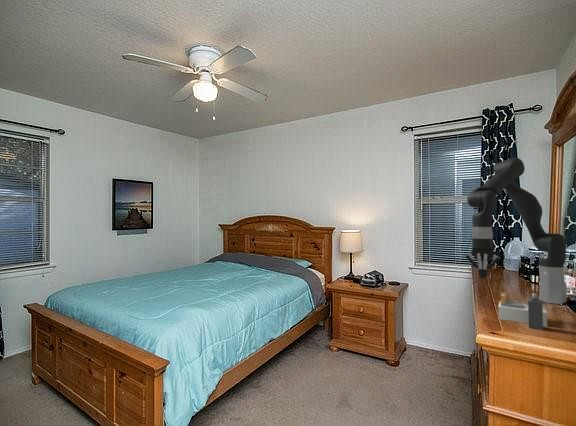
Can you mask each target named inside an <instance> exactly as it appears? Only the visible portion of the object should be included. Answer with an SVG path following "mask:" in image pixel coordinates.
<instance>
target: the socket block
mask: <svg viewBox="0 0 576 426" xmlns="http://www.w3.org/2000/svg"><path fill="white" fill-rule="evenodd" d="M522 305H523V308H515V307H508V306H501V300H499V302H498V320H504V321H508V322H515V323H523V324H528V325H529V314H528V304H525V303H522ZM542 309H543V327H548V312H547V308H546V306H542Z"/></svg>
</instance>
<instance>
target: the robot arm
mask: <svg viewBox="0 0 576 426" xmlns="http://www.w3.org/2000/svg"><path fill="white" fill-rule="evenodd" d="M525 169H526V168H525V163H524V162H523V160H522V159H520V158H519V157H513V158H508V159H506V160H505V159H504V160H502V161H499V162H496V163H495V164H494V165H493V174H494V176H492V177H490V178H489V179H487V180H486V182H485V183H484V184H483V185H482V186H479V187H477V188H475V189H474V190H472V191H471V192H470V193H468V195H467V197H466V199H467V200H466V202H467V205H468V206H469V207H471V208H475V209H476V208H483V209H482V211H480V212H477V213H476V212H475V213H474V214H472V230H471V242H472V243H471V247H472V248H471V251H470V253H469V254H466V255H465V258H466V259H467V261H469V263H470V264H471V266H472V267H474V268H476V269H478V277H479V278H480V279H486V278H487V276H488V270H489V269H490V270H491V269H492V268H493V267H494V266H495V265H496V264H497V263H498V262H499V261H500V260H501V257H500V256H498V255H496V253H495V251H494V233H493V221H492V220H493V219H492V218H493V213H494V209H495V206H496V203H497V196H498V195H499V194H500V192H501V191H502V190H503V189H504V190H505V192H506V194H507V195H508V196H509V198H510V199H511V201H512V203H513V206H514V207H515V209H516V211H517V212H518V215H519V216H520V218H521V219H522V221H523V223H524V225H525V227H526V229H527V231H528V233H529V236H530V238H531V240H532V243H533V245H534V247H535V248H536V249H537V250H538V251H540V252H543V253H544V252H545V253H548V255H547V257H545V258H542V259H539V261H538V266H539V267H538V270H539V300H542V303H543V302H544V303H547V304H548V303H549V304H554V305H555V304H556V305H563V303H565V301H566V300H567V301H568V299H567V298H568V296H567V294H568V293H567V283H566V282H565V264H566V263H565V262H566V259H567V258H566V256H567V241H566V239H565V236H564V235H563V234H561V233H550V232H548V233H547V232H545V230H544V228H543V225H542V223H541V220H542V216H543V208H542V205H541V204H540V202H539V200H538V198H537V197H536V196H535V195H534V194H533V193H531V192H530V191H528V190H526V189H524V188H522V187H520V186H518V184H516V183H515V180H516V179H518V178H519V177H521V176H522V175H523V174H524V172H525ZM473 258H474V259H475V260H476V261H477V263H476V261H475V260H474V259H473ZM491 259H492V260H493V261H492V262H491V263H490V264H488V262H489V261H491ZM565 304H566V303H565Z"/></svg>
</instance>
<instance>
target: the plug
mask: <svg viewBox="0 0 576 426" xmlns="http://www.w3.org/2000/svg"><path fill="white" fill-rule="evenodd" d="M527 302H528V303H527V305H528V314H529V324H528V328H529V329H531V330H539V331H544V326H543V309H542V307H543V301H542V300H540V299H539V294H538V293H536V292H532V293H531V298H527Z"/></svg>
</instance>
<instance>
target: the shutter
mask: <svg viewBox="0 0 576 426" xmlns="http://www.w3.org/2000/svg"><path fill="white" fill-rule="evenodd" d="M500 301H501V306H508V307H515V308H523V305H522V304H523V302H522V301H516V300H509V299H508V300H507V293H506V292H501V293H500Z"/></svg>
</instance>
